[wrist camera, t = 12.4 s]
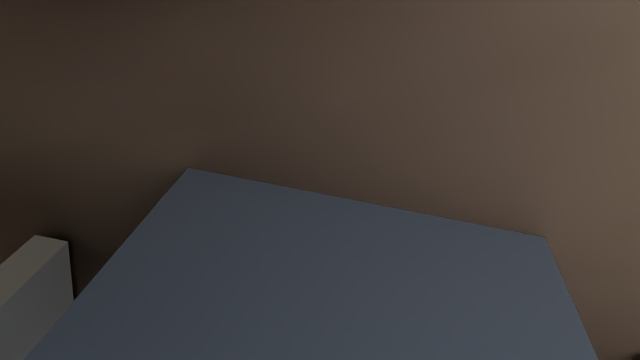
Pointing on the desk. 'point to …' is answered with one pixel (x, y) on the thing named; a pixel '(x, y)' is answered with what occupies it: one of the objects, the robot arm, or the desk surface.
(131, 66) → the desk surface
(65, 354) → the brick blue
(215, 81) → the desk surface
